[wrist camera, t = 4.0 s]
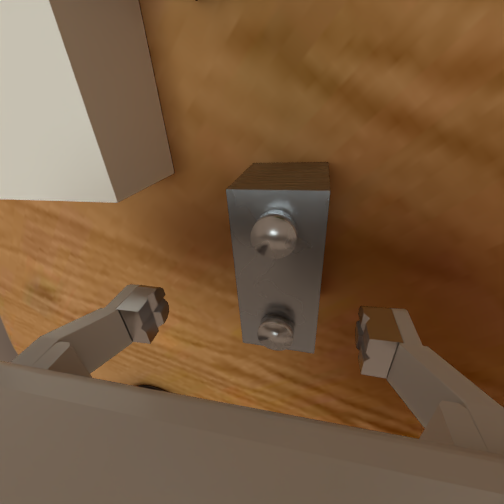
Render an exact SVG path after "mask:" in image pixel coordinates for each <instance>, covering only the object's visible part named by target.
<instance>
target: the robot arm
mask: <svg viewBox="0 0 504 504" xmlns="http://www.w3.org/2000/svg"><path fill="white" fill-rule="evenodd" d="M164 296H165V293H164V290H163V288H160V287H153V286H145V285H134V284H130V285H127V286H126V287H125V288H124V289H123V290H122V291H121V292H120V293H119V294H118V295H117V296H116V297H115V298H114V299H113V300H112V301H111V302H110V303H109V304H108V305H107V306H106V307H105V308H100V309H98V310H96V311H94V312H92V313H90V314H87V315H85V316H83V317H81V318H79V319H77V320H75V321H72V322H70V323H68V324H66V325H64V326H62V327H60V328H58V329H55V330H53V331H51V332H49V333H47V334H45V335H43V336H40V337H39V338H38V339H37V340H36V341H34V342H33V343H32V344H31V345H30V346H29V347H27V348H26V349H25V350H24V351H23V352H22V353H21V354H19V355H18V356H17V357H16V358H15V359H14V360H13V361H11V363H9V362H3V361H0V504H504V408H503V407H502V406H501V405H499V404H498V403H497V402H496V401H494V400H493V399H492V398H491V397H490V396H488V395H487V394H486V393H485V392H483V391H482V390H481V389H480V388H478V387H477V386H476V385H475V384H473V383H472V382H471V381H470V380H469V379H467V378H466V377H465V376H464V375H462V374H461V373H460V372H459V371H457V370H456V369H455V368H454V367H452V366H451V365H450V364H449V363H448V362H446V361H445V360H444V359H443V358H441V357H440V356H439V355H438V354H436V353H435V352H434V351H433V350H431V349H430V348H429V347H428V346H423V345H422V343H421V341H420V338H419V336H418V334H417V331H416V329H415V327H414V324H413V322H412V320H411V318H410V315H409V313H408V311H407V310H406V309H397V308H382V307H370V306H360V308H359V313H358V314H359V321H357V322H356V328H355V342H356V347H357V349H358V350H359V355H358V361H359V366H360V372H361V374H363V375H369V376H375V377H381V378H386V379H387V381H388V382H389V383H390V385H391V386H392V387H393V388H394V390H395V391H396V392H397V394H398V395H399V396H400V397H401V399H402V400H403V401H404V402H405V404H406V405H407V406H408V408H409V409H410V410H411V411H412V413H413V414H414V415H415V416H416V418H417V419H418V420H419V422H420V423H421V424H422V425H423V427H424V428H425V430H424V431H423V433H422V435H421V436H420V438H419V439H416V438H411V437H406V436H400V435H395V434H390V433H384V432H379V431H373V430H368V429H363V428H357V427H352V426H347V425H341V424H336V423H331V422H325V421H320V420H315V419H309V418H304V417H298V416H293V415H288V414H282V413H277V412H271V411H266V410H261V409H255V408H250V407H245V406H239V405H234V404H228V403H223V402H218V401H212V400H207V399H202V398H196V397H191V396H186V395H180V394H175V393H170V392H164V391H159V390H153V389H148V388H143V387H137V386H132V385H127V384H121V383H116V382H111V381H105V380H100V379H95V378H92V376H91V375H90V373H92V372H93V371H94V370H96V369H97V368H98V367H100V366H101V365H103V364H104V363H105V362H107V361H108V360H109V359H111V358H112V357H114V356H115V355H116V354H118V353H119V352H120V351H122V350H123V349H124V348H126V347H127V346H129V345H130V344H131V343H132V342H140V343H149V344H151V342H152V341H153V339H154V338H155V336H156V335H157V333H158V332H159V330H158V327H159V326H161V325H162V324H164V323H165V321H166V319H167V317H168V314H169V305H168V302H167V301H166V300H165V299H164Z"/></svg>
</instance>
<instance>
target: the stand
mask: <svg viewBox="0 0 504 504" xmlns="http://www.w3.org/2000/svg"><path fill="white" fill-rule="evenodd" d="M172 174H174V168H173V164H172V159H171V154H170V149H169V144H168V140H167V135H166V130H165V125H164V120H163V116H162V111H161V106H160V101H159V96H158V92H157V87H156V82H155V77H154V73H153V68H152V63H151V58H150V53H149V49H148V44H147V39H146V34H145V29H144V25H143V20H142V15H141V10H140V5H139V1H138V0H0V199H15V200H48V201H82V202H115V203H118V202H120V201H122V200H124V199H126V198H127V197H129V196H131V195H133V194H135V193H137V192H139V191H141V190H143V189H145V188H147V187H149V186H151V185H153V184H155V183H156V182H158V181H160V180H162V179H164V178H166V177H168V176H170V175H172Z"/></svg>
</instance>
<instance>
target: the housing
mask: <svg viewBox="0 0 504 504" xmlns="http://www.w3.org/2000/svg"><path fill="white" fill-rule="evenodd" d="M226 194H227V203H228V212H229V221H230V230H231V239H232V248H233V257H234V266H235V274H236V283H237V292H238V301H239V310H240V319H241V328H242V337H243V342H244V343H250V344H256V345H263V346H265V347H267V348H269V349H272V350H285V349H288V350H295V351H301V352H307V353H314V350H315V340H316V330H317V319H318V309H319V299H320V289H321V279H322V269H323V259H324V249H325V239H326V229H327V219H328V209H329V199H330V180H329V166H328V162H288V163H253V164H252V165H251V166H250V167H249V168H248V169H247V170H246V171H245V172H244V173H243V174H241V175H240V176H239V177H238V178H237V179H236V180H235V181H234V182H233V183H232V184H231V185H230V186H229V187H228V188H227V189H226Z"/></svg>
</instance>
